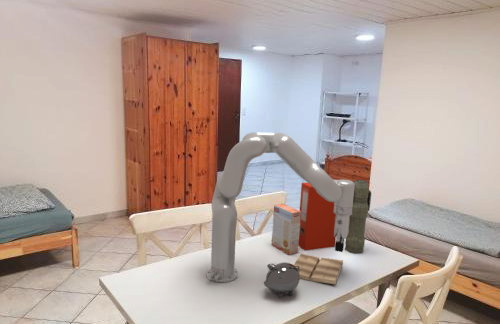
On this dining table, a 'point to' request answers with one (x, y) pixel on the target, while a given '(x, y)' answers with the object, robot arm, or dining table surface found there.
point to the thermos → (358, 217)
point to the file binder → (315, 220)
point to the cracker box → (286, 228)
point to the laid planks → (307, 266)
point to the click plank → (327, 271)
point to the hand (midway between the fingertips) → (339, 250)
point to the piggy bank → (282, 278)
